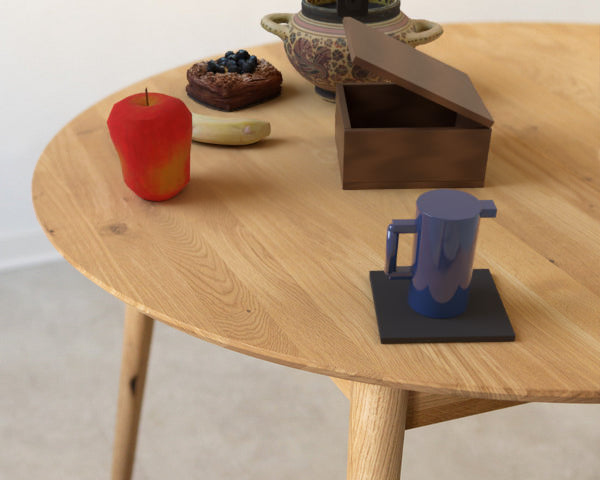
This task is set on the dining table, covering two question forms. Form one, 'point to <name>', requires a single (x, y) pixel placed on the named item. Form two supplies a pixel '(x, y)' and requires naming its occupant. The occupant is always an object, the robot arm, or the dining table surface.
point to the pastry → (233, 82)
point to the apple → (152, 143)
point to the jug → (439, 251)
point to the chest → (405, 140)
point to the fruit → (228, 130)
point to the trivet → (420, 329)
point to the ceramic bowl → (340, 40)
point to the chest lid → (414, 70)
